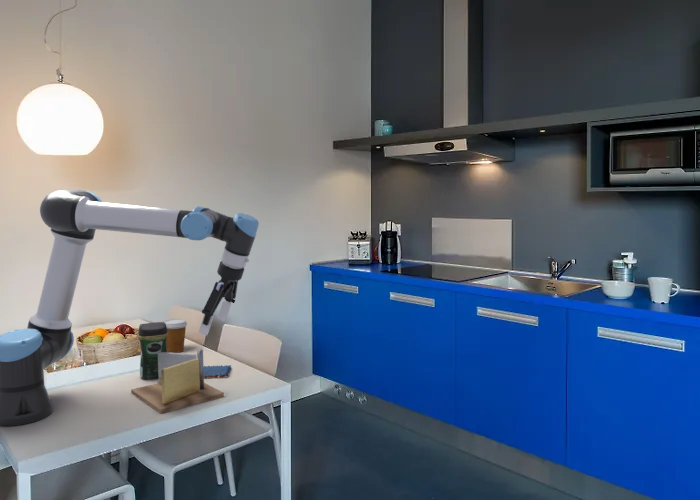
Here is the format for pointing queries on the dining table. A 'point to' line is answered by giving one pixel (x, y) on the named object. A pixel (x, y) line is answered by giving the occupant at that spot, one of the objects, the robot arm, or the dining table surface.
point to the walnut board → (154, 400)
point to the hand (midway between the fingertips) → (212, 326)
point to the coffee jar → (151, 347)
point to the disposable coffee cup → (175, 335)
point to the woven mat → (216, 371)
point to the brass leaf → (180, 380)
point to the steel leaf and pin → (176, 358)
